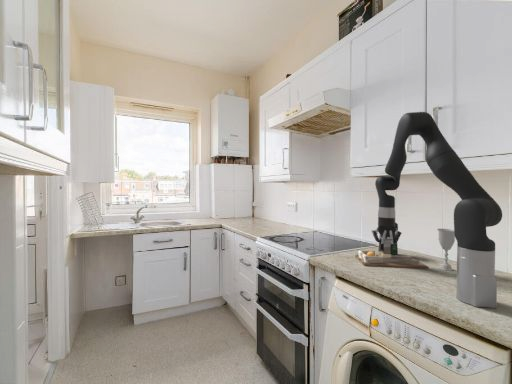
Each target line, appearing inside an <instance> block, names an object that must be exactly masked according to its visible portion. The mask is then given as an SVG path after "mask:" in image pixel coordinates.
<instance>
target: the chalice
mask: <svg viewBox="0 0 512 384" xmlns="http://www.w3.org/2000/svg"><path fill="white" fill-rule="evenodd" d="M437 231H438V242H439V245H440V246H441V249H442V250H444V253H443V254H444V257H443V259H444V262H441V264H440V265H439V267H438V268H439V270H443V271H446V270H447V272H452V271H451V270H454V269H453V267H452V265H451V264H450V263H448V260H449V258H448V256H449V254H448V251H451V249H452V247H453V246H454V244H455V241H456V238H455V234H454V229H451V228H437Z"/></svg>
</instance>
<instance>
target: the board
mask: <svg viewBox="0 0 512 384" xmlns="http://www.w3.org/2000/svg"><path fill="white" fill-rule="evenodd" d="M370 251H371V252H374V253H375V256H367V253H368V252H370ZM355 258H356V259H357V260H358V261H359V262H360V263H361V264H362V265H363V267H380V268H381V267H382V268H384V267H385V268H402V269H403V268H405V269H424V270H429V266H428V265H427V264H424V263H422V262H421V261H420V260H418V259H415V258H413V257H412V256H410V255H408V256H407V255H395V256H391V259H383V257H381V256H379V254H376V251H375V250H361V249H360V250H358V253H357V254H355Z"/></svg>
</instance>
